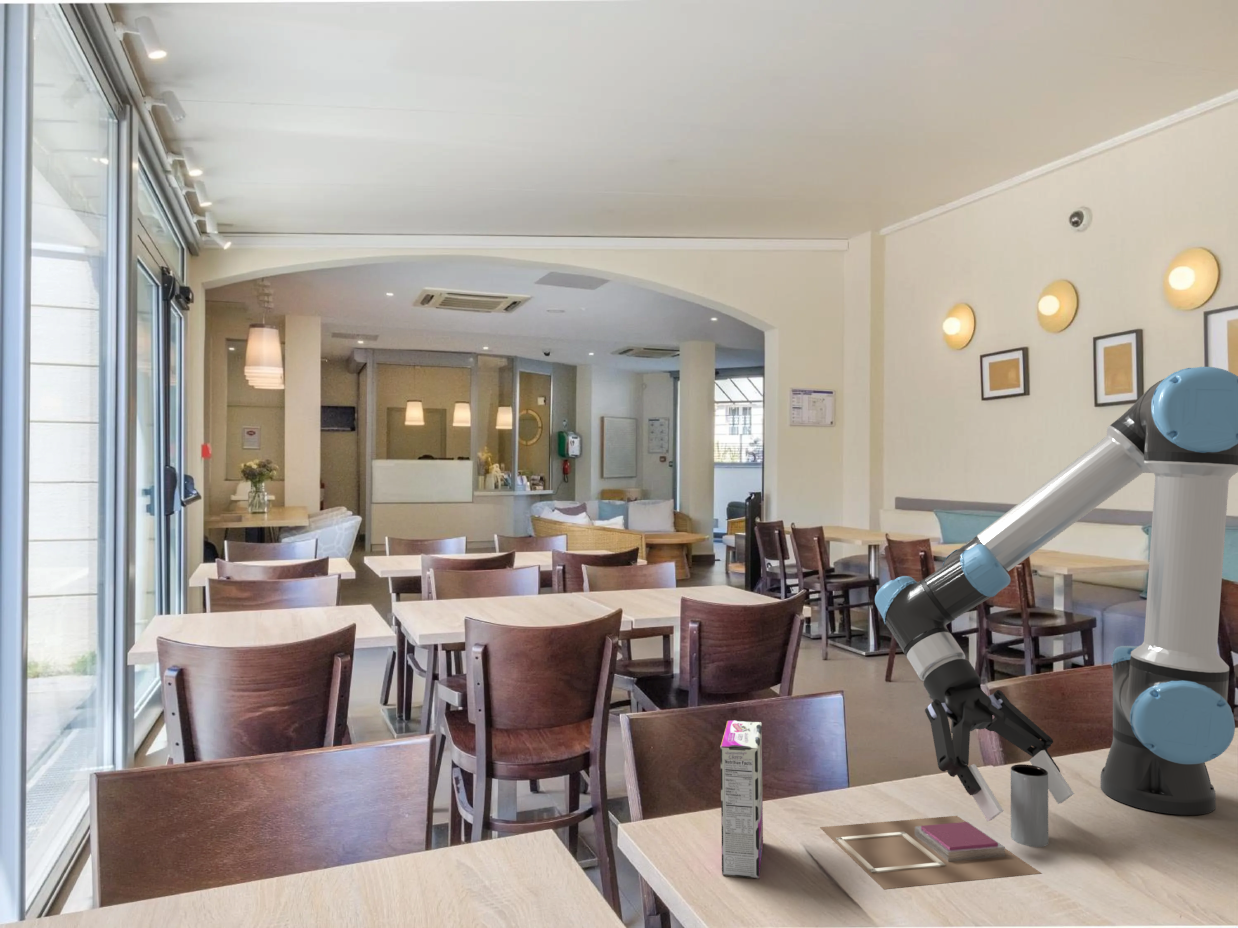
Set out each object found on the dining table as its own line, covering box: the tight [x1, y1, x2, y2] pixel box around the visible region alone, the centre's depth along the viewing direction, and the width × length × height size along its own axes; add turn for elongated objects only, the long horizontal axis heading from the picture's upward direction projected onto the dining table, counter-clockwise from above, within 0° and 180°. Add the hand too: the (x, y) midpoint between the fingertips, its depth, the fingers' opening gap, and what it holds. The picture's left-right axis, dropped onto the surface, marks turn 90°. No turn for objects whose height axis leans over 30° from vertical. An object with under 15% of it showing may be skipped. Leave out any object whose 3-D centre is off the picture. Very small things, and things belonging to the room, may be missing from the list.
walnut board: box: [819, 815, 1043, 890], centre depth 113 cm, size 21×18×1 cm
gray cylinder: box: [1010, 764, 1049, 848], centre depth 116 cm, size 4×4×10 cm
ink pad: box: [915, 821, 1006, 862], centre depth 114 cm, size 8×8×2 cm
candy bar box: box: [719, 719, 764, 879], centre depth 112 cm, size 11×5×16 cm, turn 168°
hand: (1031, 807), depth 115 cm, fingers open, 13 cm apart
